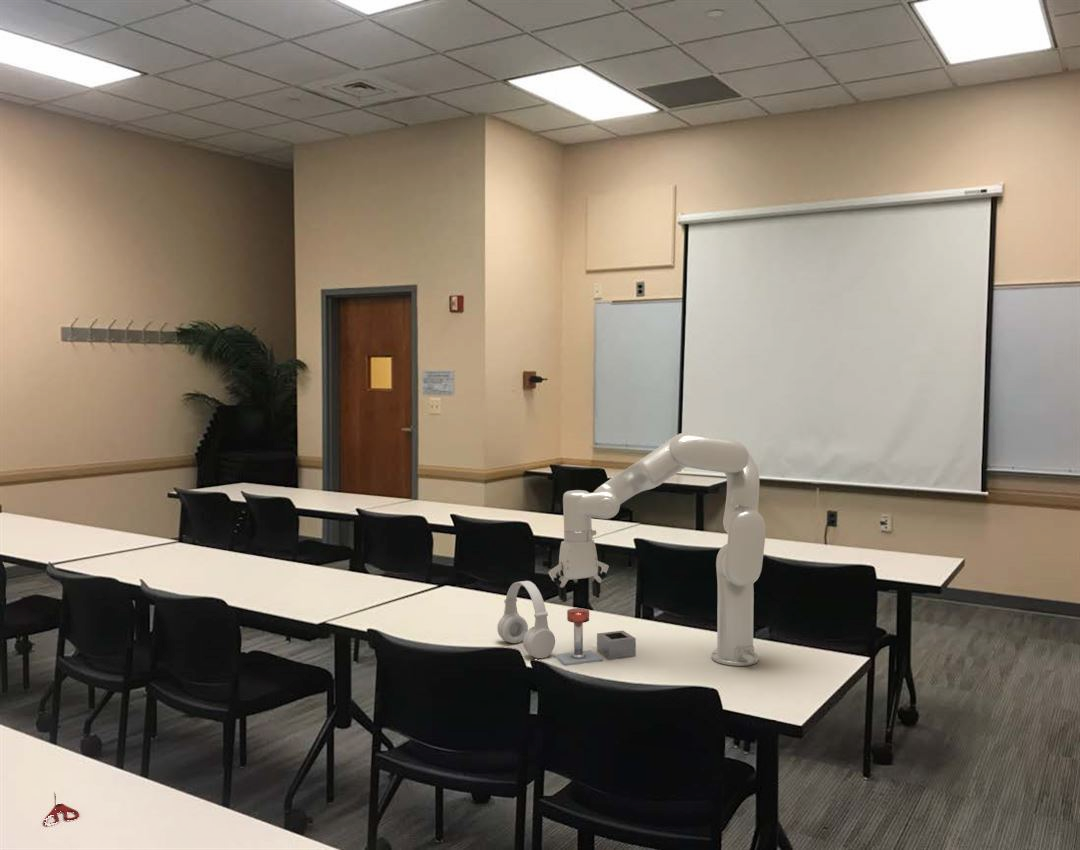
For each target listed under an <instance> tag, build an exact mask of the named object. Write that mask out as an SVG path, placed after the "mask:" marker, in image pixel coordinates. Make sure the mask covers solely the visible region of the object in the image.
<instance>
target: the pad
mask: <svg viewBox="0 0 1080 850" xmlns="http://www.w3.org/2000/svg"><path fill="white" fill-rule="evenodd" d="M573 652H574V651H572V652H565V653H558V654H553V657H554V658H555V657H556V658H557V659H558V660H557V659H556V658H555V659H556V660H557V661H558V662H560V663H561V665H563V666H572V665H579V664H587V663H592V662H593V663H594V662H602V661H603V658H602V657H601V656H599V655H598V654H597V653H596V652H594V651H592V650H591V649H590V650H583V652H584V653H585V658H583V659H574V658H572V655H571V654H572V653H573Z"/></svg>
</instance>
